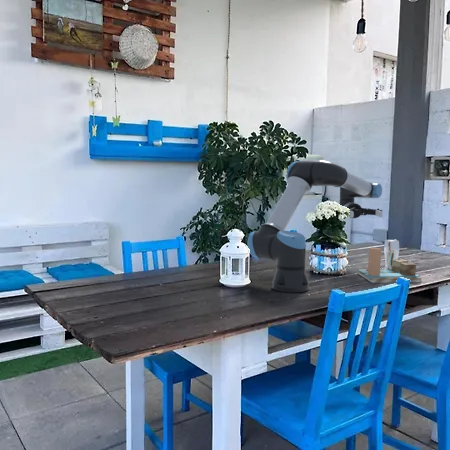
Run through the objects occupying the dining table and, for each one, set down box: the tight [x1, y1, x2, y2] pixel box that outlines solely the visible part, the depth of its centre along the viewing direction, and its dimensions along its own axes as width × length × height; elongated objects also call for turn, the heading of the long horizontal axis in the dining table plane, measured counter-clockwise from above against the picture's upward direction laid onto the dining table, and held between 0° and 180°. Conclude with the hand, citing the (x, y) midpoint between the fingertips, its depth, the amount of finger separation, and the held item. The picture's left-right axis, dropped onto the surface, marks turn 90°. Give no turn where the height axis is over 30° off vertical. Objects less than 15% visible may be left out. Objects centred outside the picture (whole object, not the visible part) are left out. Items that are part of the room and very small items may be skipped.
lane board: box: [357, 268, 422, 284], centre depth 216 cm, size 22×19×2 cm
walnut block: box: [400, 262, 417, 276], centre depth 211 cm, size 5×5×5 cm
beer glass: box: [383, 239, 400, 269], centre depth 231 cm, size 7×7×15 cm
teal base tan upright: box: [366, 247, 421, 279], centre depth 210 cm, size 22×7×13 cm, turn 93°
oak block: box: [392, 258, 409, 272], centre depth 220 cm, size 5×5×5 cm
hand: (367, 214), depth 218 cm, fingers open, 13 cm apart
